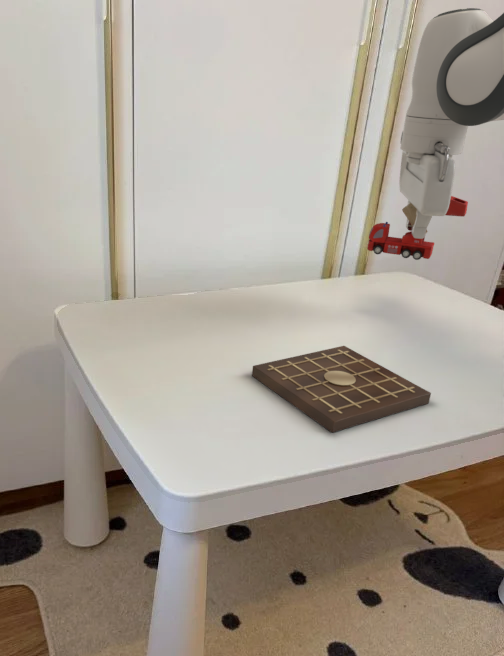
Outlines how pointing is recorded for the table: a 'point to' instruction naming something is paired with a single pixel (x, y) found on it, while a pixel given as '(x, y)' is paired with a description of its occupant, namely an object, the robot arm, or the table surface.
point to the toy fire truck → (409, 234)
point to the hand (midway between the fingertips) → (414, 233)
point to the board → (340, 387)
